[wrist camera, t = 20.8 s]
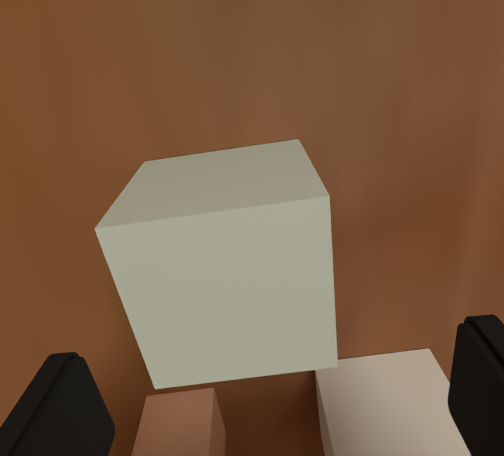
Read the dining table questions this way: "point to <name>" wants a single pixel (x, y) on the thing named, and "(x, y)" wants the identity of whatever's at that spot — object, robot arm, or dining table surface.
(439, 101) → the dining table surface
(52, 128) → the dining table surface
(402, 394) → the cream cube
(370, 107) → the dining table surface
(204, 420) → the letter block
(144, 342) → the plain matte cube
